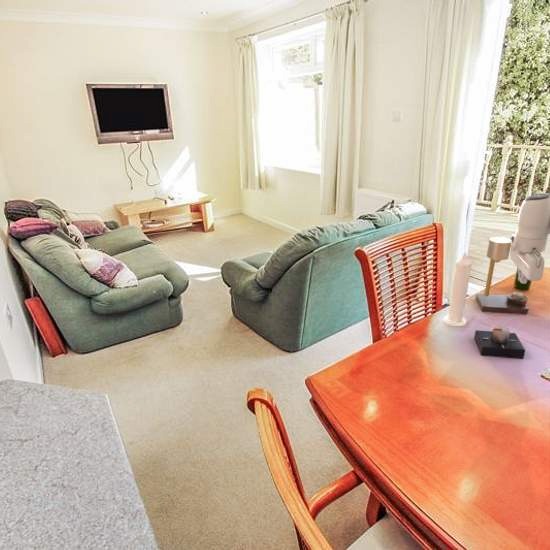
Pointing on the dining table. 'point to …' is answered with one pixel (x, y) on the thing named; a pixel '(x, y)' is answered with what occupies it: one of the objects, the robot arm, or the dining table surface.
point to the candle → (459, 293)
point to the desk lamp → (496, 256)
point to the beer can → (519, 285)
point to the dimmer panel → (499, 345)
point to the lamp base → (502, 304)
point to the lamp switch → (517, 295)
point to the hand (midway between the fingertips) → (522, 281)
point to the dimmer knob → (500, 334)
